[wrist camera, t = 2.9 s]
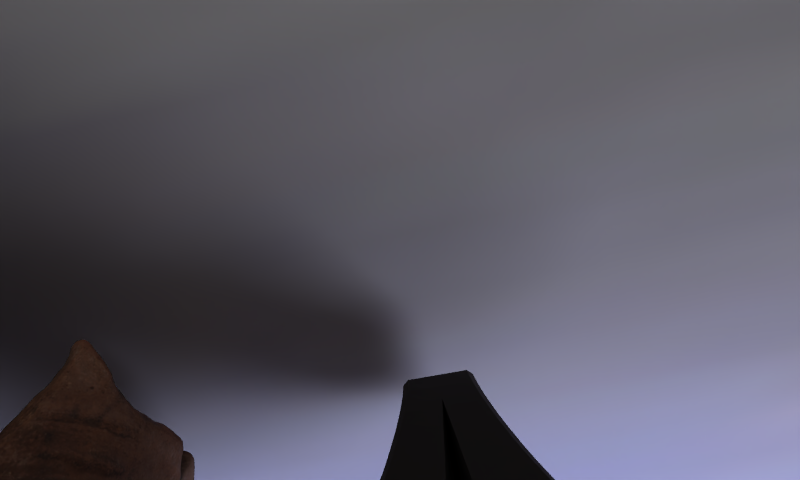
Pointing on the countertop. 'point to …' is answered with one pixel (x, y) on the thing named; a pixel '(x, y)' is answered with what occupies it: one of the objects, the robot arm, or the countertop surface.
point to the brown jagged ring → (89, 432)
